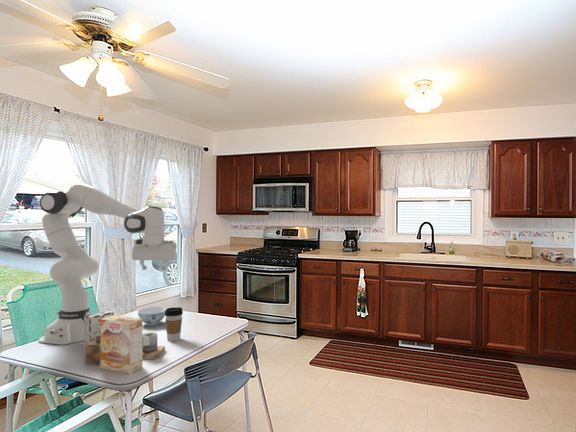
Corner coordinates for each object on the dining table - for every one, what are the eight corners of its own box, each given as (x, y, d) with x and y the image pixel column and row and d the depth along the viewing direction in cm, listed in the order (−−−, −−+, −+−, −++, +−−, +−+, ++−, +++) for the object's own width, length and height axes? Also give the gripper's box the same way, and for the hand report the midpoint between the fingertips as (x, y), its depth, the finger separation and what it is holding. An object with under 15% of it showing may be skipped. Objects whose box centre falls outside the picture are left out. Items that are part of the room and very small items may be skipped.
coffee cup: (177, 343, 179) (177, 311, 179) (161, 341, 180) (161, 310, 180) (185, 337, 187) (185, 306, 187) (170, 336, 189) (170, 305, 189)
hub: (132, 358, 159) (132, 337, 159) (142, 350, 169) (142, 330, 169) (156, 359, 159) (156, 337, 159) (164, 350, 169) (165, 330, 169)
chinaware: (155, 318, 220) (155, 305, 220) (172, 323, 211) (172, 309, 211) (131, 324, 207) (132, 310, 207) (148, 329, 199) (148, 315, 199)
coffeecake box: (99, 368, 149) (99, 318, 149) (113, 362, 156) (113, 314, 156) (129, 374, 144) (129, 322, 144) (143, 367, 150) (143, 318, 150)
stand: (85, 364, 153) (85, 338, 153) (94, 358, 160) (94, 333, 160) (102, 364, 153) (102, 338, 153) (110, 358, 160) (110, 333, 160)
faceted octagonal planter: (144, 340, 167) (144, 332, 167) (158, 340, 167) (158, 332, 167) (138, 345, 161) (138, 337, 161) (153, 345, 161) (153, 337, 160)
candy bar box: (107, 346, 174) (107, 310, 174) (114, 348, 172) (114, 311, 172) (83, 353, 165) (83, 315, 165) (90, 355, 162) (90, 317, 162)
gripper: (178, 240, 183) (178, 269, 183) (136, 239, 183) (136, 268, 183) (174, 241, 176) (174, 270, 176) (130, 240, 177) (130, 270, 177)
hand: (154, 269), depth 180 cm, fingers open, 8 cm apart
